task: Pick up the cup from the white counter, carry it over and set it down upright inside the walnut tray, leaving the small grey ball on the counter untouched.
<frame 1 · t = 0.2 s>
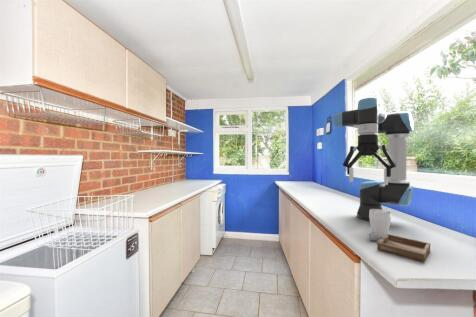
hand: (367, 183, 95), 27 cm above the worktop, fingers open, 13 cm apart
cup: (379, 235, 108), on the worktop
tray: (403, 250, 91), on the worktop
ball: (373, 240, 101), on the worktop
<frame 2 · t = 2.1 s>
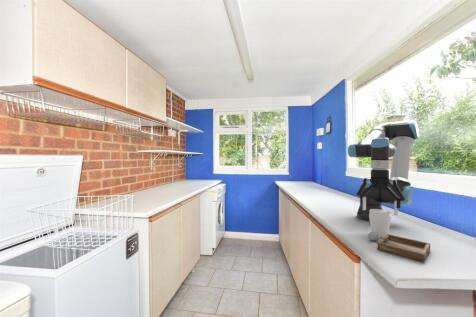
hand: (379, 212, 108), 11 cm above the worktop, fingers open, 13 cm apart
nothing on the worktop moved.
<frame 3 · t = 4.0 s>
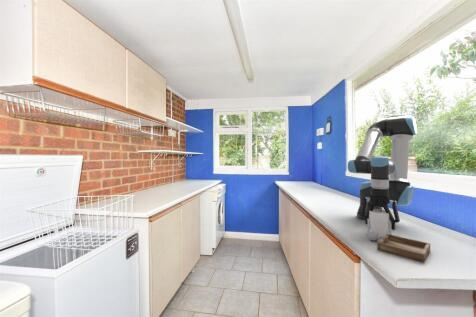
hand: (379, 233, 108), 1 cm above the worktop, fingers closed on cup, 9 cm apart
cup: (379, 235, 108), on the worktop, touching gripper
everything else where it was.
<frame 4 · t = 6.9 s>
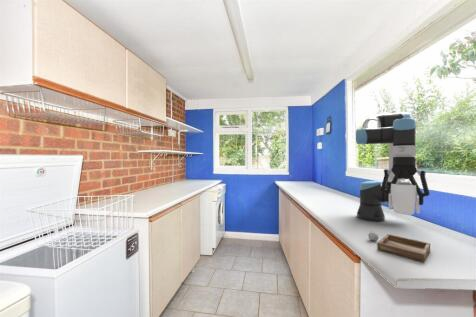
hand: (403, 210, 91), 17 cm above the worktop, fingers closed on cup, 9 cm apart
cup: (403, 213, 90), point 15 cm above the worktop, touching gripper
everything else where it was.
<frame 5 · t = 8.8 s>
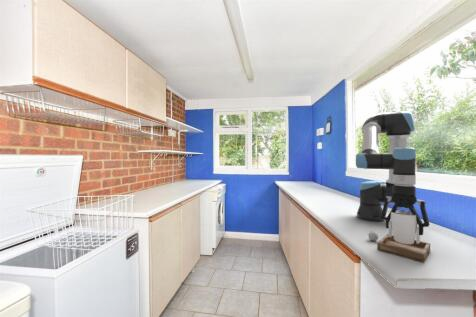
hand: (403, 239, 91), 5 cm above the worktop, fingers closed on cup, 9 cm apart
cup: (403, 241, 91), point 4 cm above the worktop, touching gripper
everything else where it was.
when the fingers open (3 cm above the worktop, at t = 10.1 s): cup drops 1 cm, resting on tray.
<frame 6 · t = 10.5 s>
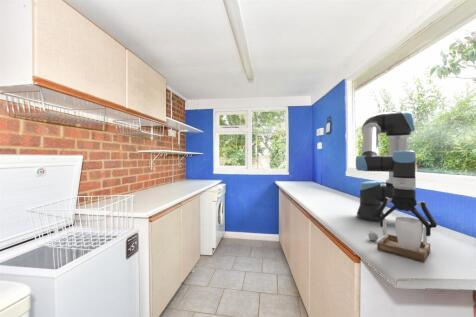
hand: (403, 239, 91), 5 cm above the worktop, fingers open, 13 cm apart
cup: (408, 249, 89), point 1 cm above the worktop, touching tray
everything else where it was.
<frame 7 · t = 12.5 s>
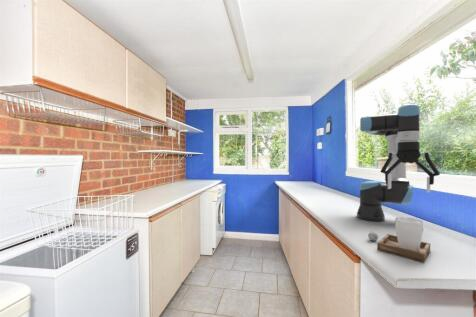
hand: (407, 190, 95), 24 cm above the worktop, fingers open, 13 cm apart
nothing on the worktop moved.
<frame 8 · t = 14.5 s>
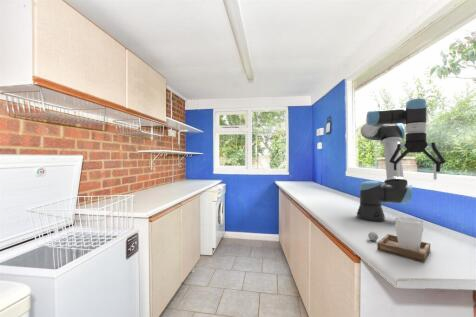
hand: (415, 178, 102), 29 cm above the worktop, fingers open, 13 cm apart
nothing on the worktop moved.
at the end: cup inside the target area on the tray (1.7 cm from its centre), point 0.8 cm above the tray's base; cup tilted 0°; cup touching tray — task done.
